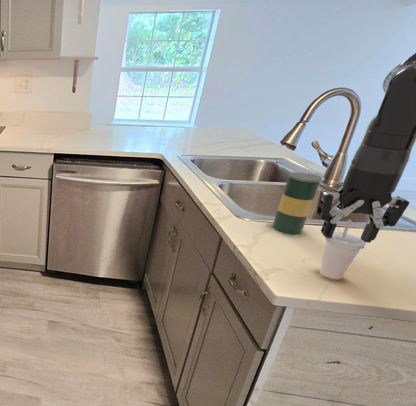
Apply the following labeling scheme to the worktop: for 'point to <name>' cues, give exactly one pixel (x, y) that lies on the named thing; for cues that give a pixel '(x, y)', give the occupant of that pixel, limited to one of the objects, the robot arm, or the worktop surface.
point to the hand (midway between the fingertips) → (345, 238)
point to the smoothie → (340, 253)
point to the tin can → (296, 202)
